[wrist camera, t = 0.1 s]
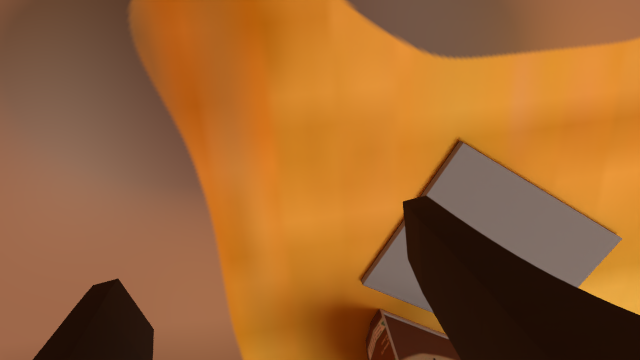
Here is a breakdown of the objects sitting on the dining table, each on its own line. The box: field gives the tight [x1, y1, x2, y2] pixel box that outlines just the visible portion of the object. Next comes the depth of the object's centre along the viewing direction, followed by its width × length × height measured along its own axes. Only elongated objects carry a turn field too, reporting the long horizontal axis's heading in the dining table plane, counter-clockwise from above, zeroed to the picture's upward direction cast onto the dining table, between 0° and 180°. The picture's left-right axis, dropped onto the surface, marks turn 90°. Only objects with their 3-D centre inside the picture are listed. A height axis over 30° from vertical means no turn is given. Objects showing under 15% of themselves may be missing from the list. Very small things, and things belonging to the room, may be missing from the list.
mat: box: [361, 141, 622, 313], centre depth 25 cm, size 10×14×1 cm
